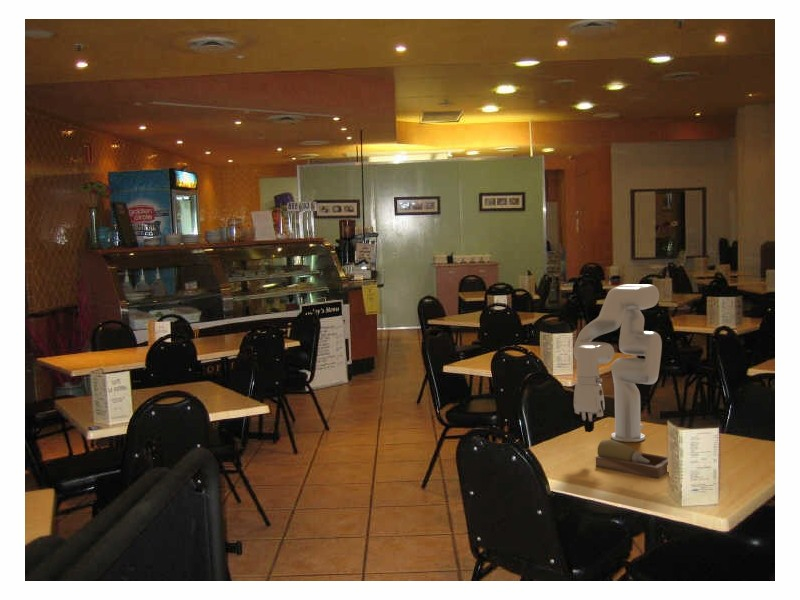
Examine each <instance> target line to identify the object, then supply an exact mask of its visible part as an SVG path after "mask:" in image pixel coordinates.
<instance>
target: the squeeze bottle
mask: <svg viewBox="0 0 800 600" xmlns="http://www.w3.org/2000/svg"><path fill="white" fill-rule="evenodd" d="M636 449H637V448H636V447H632V446H630V445H628V444H625V443H623V442H621V441H617V440H614V439H604V440H601V441H600V442H599V444H598V446H597V451H596V452H597V456H601V457H607V458H613V459H618V460H624V461H630V462H635V463H641V464H650V461H649V460H647V459H646V458H644V457H642V454H641V453H642V452H640V451H637V450H636Z"/></svg>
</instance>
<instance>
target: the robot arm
mask: <svg viewBox="0 0 800 600" xmlns="http://www.w3.org/2000/svg"><path fill="white" fill-rule="evenodd" d="M659 300H660V291H659V289H658V287H657V286H655V285H653V284H630V283H627V284H620V285H618V286H617V285H616V287H612V288H611V289H610V290H609V291H608V293H607V295H606V296H605V300H604V302H603V304H602V306H601V310H600V311H599V315H598V316H597V317H596V318H595V319H593V320H592V321H590V322H589V323H588V324H586V325H585V326H584V327H583V328H582V329H581V330H580V332H579V334H578V335H577V338H576V340H575V342H574V346H573V357H574V359H575V360H576V380H577V381H576V383H575V385H574V393H573V409H574V413H575V414H577V415H580V417H581V419H582V421H583V427H584V432H586V433H591V432H594V429H595V420H596V419H597V418H598V417H599V418H601V417H603V416H604V411H605V408H606V407H605V406H606V405H605V404H606V403H605V397H604V389H603V385H602V383H603V378H601V377H600V371H599V370H600V367H599V366H600V364H608V363H610V362H611V361H612V360H613V359H614V357H615V349H614V347H613V345H612V344H611V343H607V342H604V341H603V342H602V341H599V342H598V341H593V340H594V339H596V338H598V337H600V336H602V335H605V334H608V333H611V332H614V331H617V330H618V329H619V328H620V332H619V333H620V334H619V339H618V349H619V351H620V352H621V353H622V354H625V355H632V356H640V357H641V356H644V357H645V358H636V357H619V358H618V357H617V358H616V359H615V360H613V362H612V364H611V374H612V375H611V376H612V379H613V380H612V382H613V387H614V391H613V392H614V431H615V432H612V433H611V434H610V437H611V440H615V441H617V442H621V443H623V442H624V443H636V442H642V441H644V440H645V439H646V435H645V434H643V433H642V431H641V430H643V428H644V425H643V423H641V419H642V418H641V393H640V390H639V388H638V387H637V385H636V384H643V385H654V384H655V383H656V382H657V381H658V378H659V375H660V374H659V373H660V366H661V358H662V351H663V350H662V347H663V346H662V345H663V342H662V338H661V335H660V334H659V333H658V332H656V331H652V330H651V331H649V330H645V329H644V327H645V316H644V314H643V313H642V311H643V310H647V309H650V308H654V307H655V306H657V305H658V303H659ZM641 310H642V311H641Z"/></svg>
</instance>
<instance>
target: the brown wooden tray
mask: <svg viewBox="0 0 800 600" xmlns="http://www.w3.org/2000/svg"><path fill="white" fill-rule="evenodd" d="M640 453H641V454H642V457H644V458H646V459H647V460H649V461H650V464H641V463H635V462H630V461H624V460H618V459H613V458H607V457H601V456H599V455H597V456H595V467H596V468H600V469H606V470H610V471H615V472H622V473H627V474H632V475H637V476H643V477H647V478H653V479H658V480H659V479H660V478H661V477H663V476H664V475H666V474H668V473H667V465H668V457H669V456H668V457H667V456H664V455H657V454H652V453H651V454H650V453H645V452H640Z"/></svg>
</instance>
